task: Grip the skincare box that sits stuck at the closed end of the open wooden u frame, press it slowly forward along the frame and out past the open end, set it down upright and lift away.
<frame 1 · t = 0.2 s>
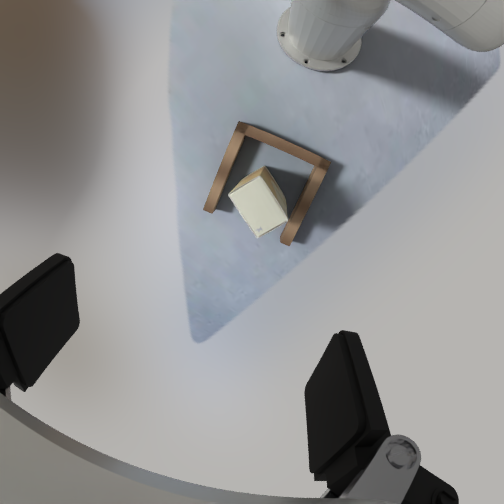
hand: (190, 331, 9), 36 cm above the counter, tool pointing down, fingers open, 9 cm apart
open wooden u frame: (266, 182, 42), on the counter
skincare box: (263, 188, 42), on the counter
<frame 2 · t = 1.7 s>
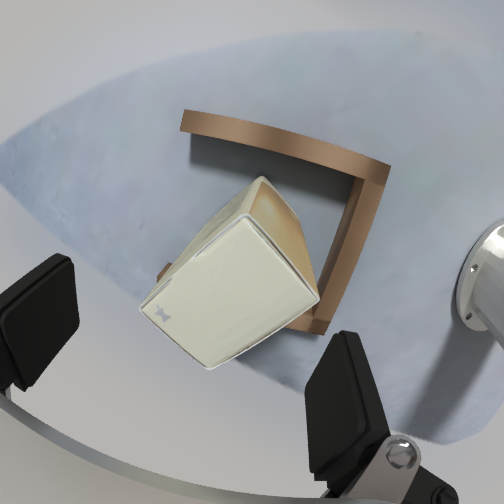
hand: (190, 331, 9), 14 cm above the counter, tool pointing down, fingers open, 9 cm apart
open wooden u frame: (264, 223, 22), on the counter
skincare box: (252, 218, 22), on the counter
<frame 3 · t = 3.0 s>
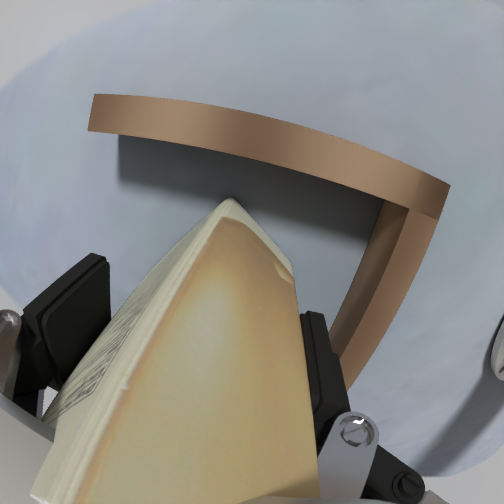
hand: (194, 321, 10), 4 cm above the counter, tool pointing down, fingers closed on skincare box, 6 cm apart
open wooden u frame: (237, 273, 14), on the counter
skincare box: (217, 265, 14), on the counter, touching gripper
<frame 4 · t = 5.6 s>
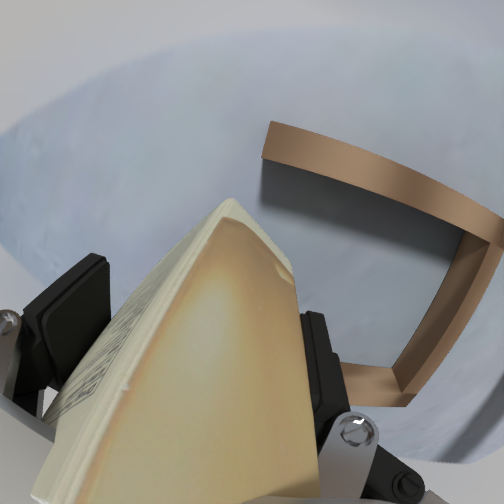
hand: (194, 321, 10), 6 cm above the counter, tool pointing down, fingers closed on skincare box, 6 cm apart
open wooden u frame: (359, 289, 15), on the counter
skincare box: (218, 265, 14), point 1 cm above the counter, touching gripper
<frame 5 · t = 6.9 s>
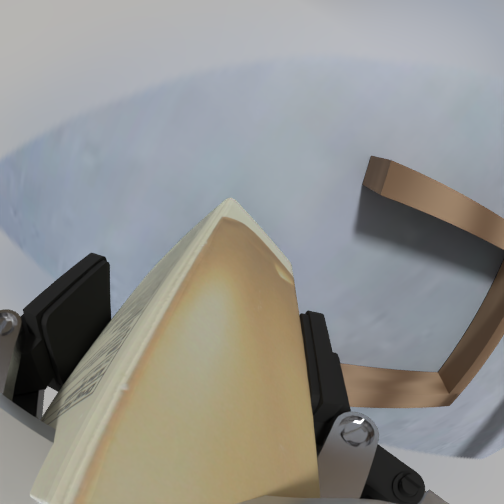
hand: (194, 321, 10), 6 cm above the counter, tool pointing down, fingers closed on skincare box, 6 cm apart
open wooden u frame: (424, 305, 15), on the counter
skincare box: (217, 265, 14), point 1 cm above the counter, touching gripper
when the fingers open (4 cm above the counter, at t = 8.0 s): skincare box stays where it is, on the counter.
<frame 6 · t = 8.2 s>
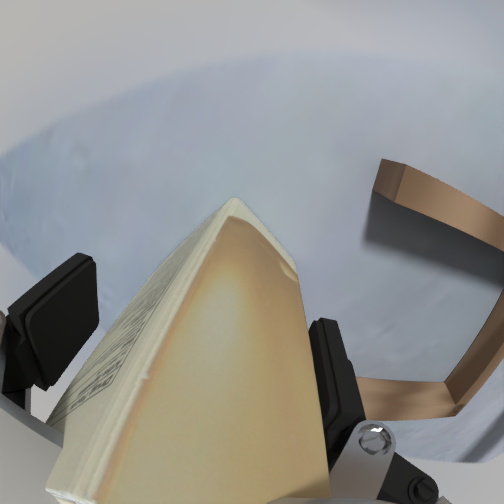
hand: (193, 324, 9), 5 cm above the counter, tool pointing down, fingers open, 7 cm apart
open wooden u frame: (434, 316, 14), on the counter
skincare box: (222, 264, 14), on the counter
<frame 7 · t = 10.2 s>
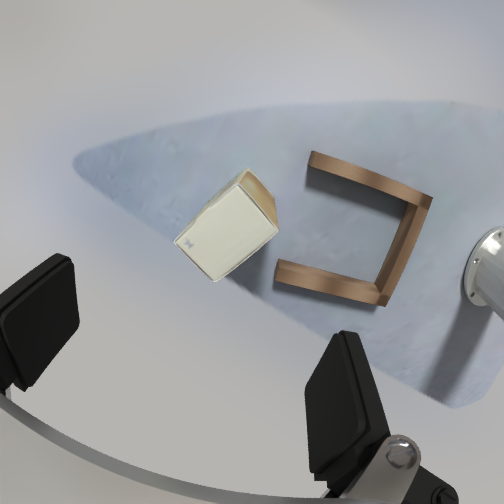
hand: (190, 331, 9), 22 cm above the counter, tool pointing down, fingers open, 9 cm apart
open wooden u frame: (351, 230, 30), on the counter
skincare box: (241, 198, 30), on the counter
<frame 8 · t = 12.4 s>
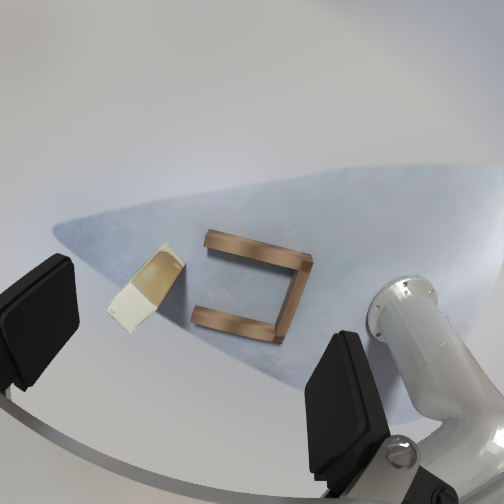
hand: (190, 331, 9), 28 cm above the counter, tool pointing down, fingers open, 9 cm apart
open wooden u frame: (248, 286, 41), on the counter
skincare box: (164, 263, 40), on the counter
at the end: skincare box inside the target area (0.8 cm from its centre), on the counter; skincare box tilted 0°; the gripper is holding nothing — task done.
